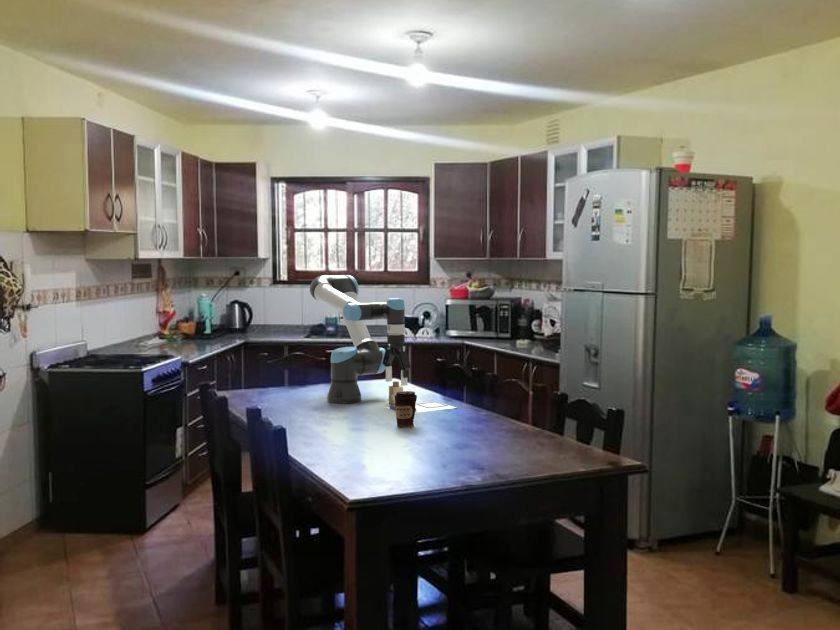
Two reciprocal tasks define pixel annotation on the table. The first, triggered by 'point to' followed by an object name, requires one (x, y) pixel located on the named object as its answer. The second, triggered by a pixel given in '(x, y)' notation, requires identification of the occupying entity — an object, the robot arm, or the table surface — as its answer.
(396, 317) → the robot arm
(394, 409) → the ink pad
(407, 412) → the coffee cup
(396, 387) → the stamp
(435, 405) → the sheet
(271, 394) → the table surface
